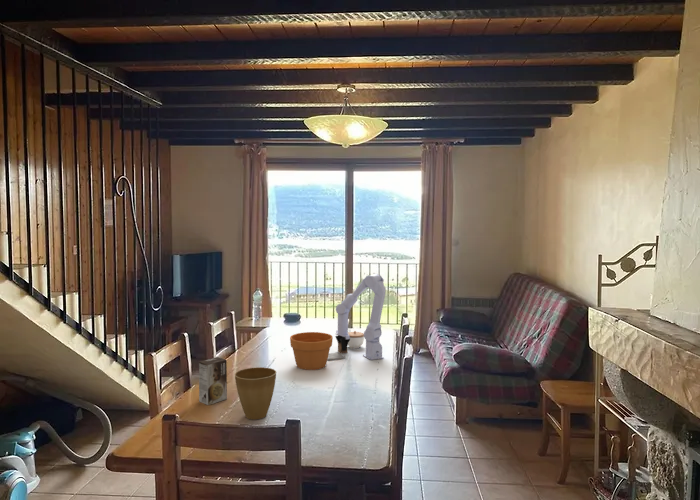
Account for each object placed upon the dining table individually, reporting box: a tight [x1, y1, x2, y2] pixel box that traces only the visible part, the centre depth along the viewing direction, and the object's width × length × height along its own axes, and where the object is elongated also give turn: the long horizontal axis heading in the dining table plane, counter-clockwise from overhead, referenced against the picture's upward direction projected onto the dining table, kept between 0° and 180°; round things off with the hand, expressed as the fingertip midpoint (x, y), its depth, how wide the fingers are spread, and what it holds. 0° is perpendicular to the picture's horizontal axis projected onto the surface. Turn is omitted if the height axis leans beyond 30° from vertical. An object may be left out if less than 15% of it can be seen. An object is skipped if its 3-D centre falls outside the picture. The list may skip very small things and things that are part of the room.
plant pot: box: [234, 366, 277, 420], centre depth 178 cm, size 15×15×16 cm
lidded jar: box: [347, 330, 365, 349], centre depth 282 cm, size 11×11×9 cm
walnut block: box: [337, 342, 348, 354], centre depth 270 cm, size 4×4×5 cm
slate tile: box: [327, 352, 346, 361], centre depth 260 cm, size 10×10×1 cm
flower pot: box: [289, 331, 333, 371], centre depth 243 cm, size 21×21×15 cm
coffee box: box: [198, 356, 228, 406], centre depth 193 cm, size 9×6×16 cm
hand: (342, 349), depth 270 cm, fingers closed on walnut block, 4 cm apart
